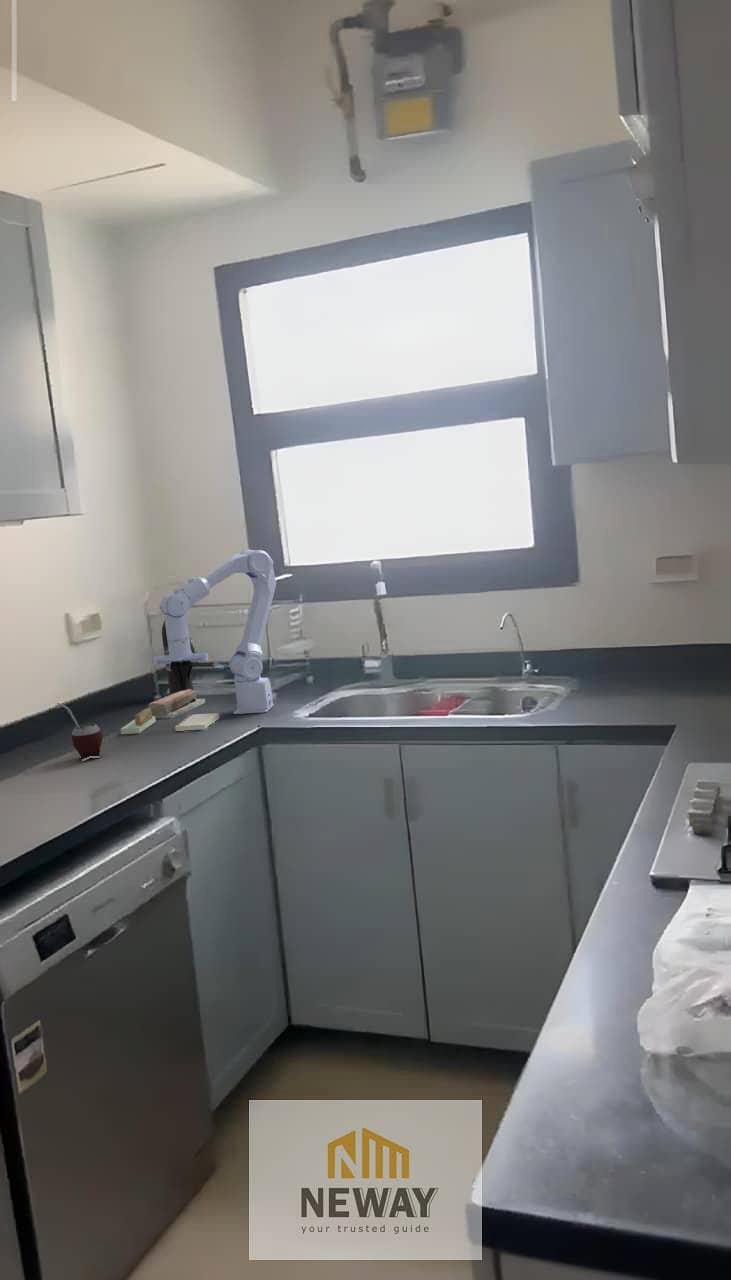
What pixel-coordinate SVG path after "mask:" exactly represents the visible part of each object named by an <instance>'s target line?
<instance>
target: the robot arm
mask: <svg viewBox="0 0 731 1280" xmlns="http://www.w3.org/2000/svg"><path fill="white" fill-rule="evenodd" d="M235 574H245V575H246V576H248V577H249V578H250V580H251V581H252V583H253V584H254V586H255V587H254V591H253V596H252V599H251V603H250V606H249V611H248V615H247V619H246V622H245V627H244V631H243V635H242V639H241V642H240V643H239V644H238V645H237V646H236V649H235V652H234V654H233V655H232V656H231V657H230V659H229V663H228V666H229V670H230V671H231V673H232V674H234V678H233V679H234V680H233V683H234V688H235V689H234V691H235V696H236V697H235V698H236V705H237V709H236V710H235V711H233V714H234V715H242V714H243V715H244V714H260V713H261V714H262V713H267V712H268V711H270V709H272V707H274V705H275V704H274V699H273V692H272V685H271V680H270V679H269V677H261V674H262V672H263V668H264V667H263V666H264V665H263V651H262V648H261V646H262V642H263V638H264V635H265V631H266V630H265V629H266V626H267V623H268V618H269V614H270V610H271V607H272V603H273V598H274V595H275V591H276V587H277V580H276V576H275V570H274V560H273V559H272V558H271V556H270V555H269V553H267V551H264V550H261V549H258V550H257V549H256V550H253V549H249V548H248V549H244V550H241V551H240V552H239V553H236V554H234V555H232V556H231V557H229V559H227V560H226V561H225V562H222V564H220V565H219V566H218V567H216V568H215V569H214V570H212V571H211V572H209V573H208V574H206V575H205V576H204V577H199V576H196V577H192V576H191V577H189V578H188V580H187V581H188V582H187V583H185V584H184V585H182V586H181V587H179V588H174V589H173V593H167V594H166V595H164V596H163V597H162V598H161V600H160V605H159V609H160V611H161V613H163V617H164V621H165V626H166V634H167V641H168V648H169V655H167V656H165V655H162V656H161V655H160V656H154V657H153V659H152V660H153V665H154V666H159V665H166V664H171V666H170V669H171V671H172V672H173V673H174V675H175V676H176V678H177V680H178V682H179V685H180V687H181V690H187V689H189V679H190V674H191V675H192V670H193V667H194V664H195V662H196V663H199V662H203V663H205V662H208V661H209V659H210V658H209V653H208V652H201V653H200V652H199V653H198V652H196V653H195V652H194V653H193V652H192V648H191V642H190V634H189V627H188V626H189V625H188V620H187V612H188V610H189V608H191V607H192V606H195V605H196V604H198V602H200V601H201V600H203V599H205V598H206V597H208V596H209V595H210V592H211V588H214V586H216V585H219V583H221V582H223V581H225V580H227V579H228V578H229V577H231V576H233V575H235ZM180 660H181V661H180Z"/></svg>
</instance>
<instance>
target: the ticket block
mask: <svg viewBox="0 0 731 1280" xmlns="http://www.w3.org/2000/svg"><path fill="white" fill-rule="evenodd" d="M219 719H220V713H219V712H216V713H215V712H214V713H213V712H212V713H197V714H196V713H195V714H189V715H188V716H186V718H184V719H182V721H180V722H179V723H178V724H177V725H175V727H174V728H175V732H176V731H184V730H195V729H205V728H207V727H208V726H209V725H211V724H212V723H213V724H215V723H216V722H217V721H218V720H219ZM216 720H217V721H216ZM215 721H216V722H215ZM213 724H212V725H213ZM212 725H211V726H212ZM207 729H208V728H207ZM184 732H185V731H184Z"/></svg>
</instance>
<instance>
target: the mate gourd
mask: <svg viewBox="0 0 731 1280" xmlns="http://www.w3.org/2000/svg"><path fill="white" fill-rule="evenodd" d="M56 704H57V705H58V706H60V707H62V708H64V709H65V710H66V711H67V714H69V715H70V716H71V719H72V720H73V722H74V724H75V727H74V728H73V730H72V731H71V741H72V742H71V743H72V744H73V745H72V746H73V747H74V749H75V750H76V752H77V753H78V754H79V756H81V758H80V759H81V760H82V759H84V758H87V757H89V756H101V755H100V752H101V746H102V744H103V734H102V731H101V729H100V727H99V726H98V724H96V723H85V724H80V725H79V723H78V721H77V719H76V718H75V715H74V714H73V711H72V710H71V708H69V707H68V706H66V705H64V704H62V703H59V702H56Z"/></svg>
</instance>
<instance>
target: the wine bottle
mask: <svg viewBox="0 0 731 1280" xmlns="http://www.w3.org/2000/svg"><path fill="white" fill-rule="evenodd" d="M161 639H162V646H163V647H162V648H163V654H164V655H163V656H167V655H169V648H168V641H167V634H166V626H165V620H163V624H162V628H161ZM180 661H181V660H180ZM170 666H171V664H165V669H166V676H167V681H168V683H167V685H168V691H169V695H171V694H174V693H177V692H180V691H184V690H181V687H180V685H179V682H178V680H177V678H176V676H175V675H174V673H173V672H172V671H171V669H170ZM189 689H191V690H192V691H194V685H193V677H192V673H191V674H190V679H189ZM187 690H188V689H187Z"/></svg>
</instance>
